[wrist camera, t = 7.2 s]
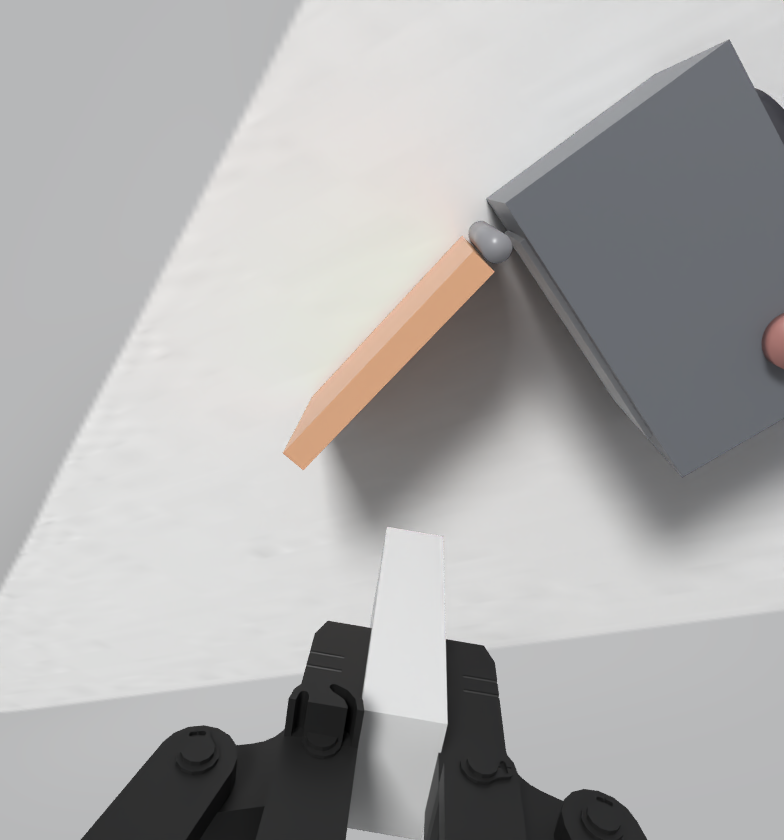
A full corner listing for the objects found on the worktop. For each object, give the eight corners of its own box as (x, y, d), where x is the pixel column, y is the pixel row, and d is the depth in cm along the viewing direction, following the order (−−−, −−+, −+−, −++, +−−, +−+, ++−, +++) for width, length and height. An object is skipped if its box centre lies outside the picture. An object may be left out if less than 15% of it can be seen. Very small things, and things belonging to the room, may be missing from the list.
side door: (327, 410, 32) (303, 470, 25) (311, 397, 32) (282, 453, 25) (496, 232, 29) (518, 246, 22) (480, 216, 29) (497, 225, 22)
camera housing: (814, 301, 30) (939, 339, 22) (624, 418, 32) (683, 487, 25) (681, 54, 27) (776, 7, 20) (482, 201, 29) (501, 207, 22)
